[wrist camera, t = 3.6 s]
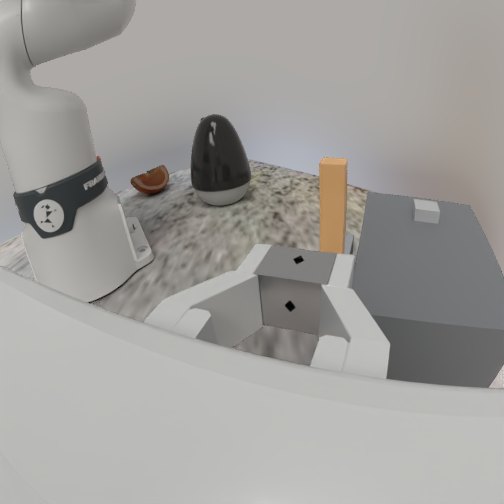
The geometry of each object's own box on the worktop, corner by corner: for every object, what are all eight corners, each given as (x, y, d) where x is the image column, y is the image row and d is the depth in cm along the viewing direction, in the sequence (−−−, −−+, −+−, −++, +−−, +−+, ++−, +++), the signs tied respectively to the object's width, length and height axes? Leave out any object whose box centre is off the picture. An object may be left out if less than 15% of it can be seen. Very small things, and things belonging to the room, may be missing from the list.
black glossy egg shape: (237, 185, 61) (228, 108, 53) (263, 200, 53) (255, 111, 45) (188, 199, 58) (174, 118, 50) (207, 217, 50) (191, 122, 42)
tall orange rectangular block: (325, 405, 20) (344, 165, 11) (311, 402, 20) (318, 163, 12) (345, 329, 26) (358, 130, 17) (334, 328, 26) (342, 129, 18)
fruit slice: (144, 202, 59) (138, 178, 57) (128, 198, 63) (122, 176, 61) (176, 187, 64) (172, 165, 62) (159, 184, 68) (154, 163, 66)
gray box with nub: (457, 427, 16) (530, 316, 11) (327, 412, 20) (344, 294, 14) (445, 278, 31) (465, 185, 25) (361, 268, 34) (368, 173, 29)
